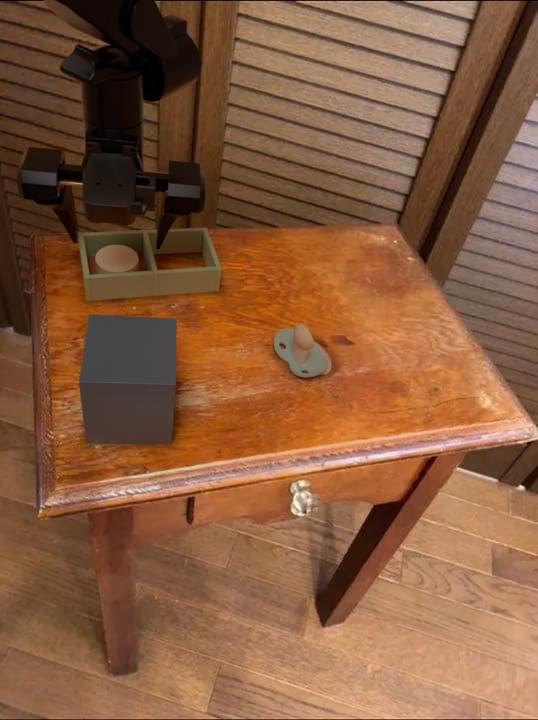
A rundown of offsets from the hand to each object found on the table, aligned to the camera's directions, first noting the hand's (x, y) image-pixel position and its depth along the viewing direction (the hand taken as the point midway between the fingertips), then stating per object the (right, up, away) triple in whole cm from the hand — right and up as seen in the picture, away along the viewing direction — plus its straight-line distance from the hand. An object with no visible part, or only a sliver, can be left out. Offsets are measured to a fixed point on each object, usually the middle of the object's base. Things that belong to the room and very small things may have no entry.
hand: (117, 244), depth 68 cm
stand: (+4, -19, -9) cm, 21 cm away
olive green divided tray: (+3, -3, +5) cm, 7 cm away
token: (-1, -3, +3) cm, 5 cm away
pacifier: (+22, -14, 0) cm, 26 cm away
